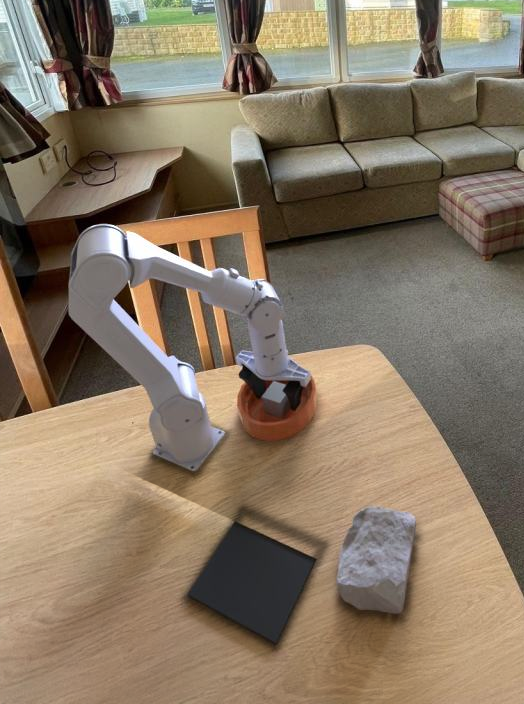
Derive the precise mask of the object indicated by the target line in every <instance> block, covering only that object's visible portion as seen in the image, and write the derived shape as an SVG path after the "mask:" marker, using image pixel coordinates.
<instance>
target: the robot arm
mask: <svg viewBox="0 0 524 704" xmlns="http://www.w3.org/2000/svg"><path fill="white" fill-rule="evenodd" d="M150 279H154V280H157V281H161V282H164V283H167V284H171V285H174V286H178V287H179V288H180V287H181V288H184V289H188V290H191V291H194V292H197V293H200V296H201V299H202V301H203V302H204V303H205V304H207V305H210V306H213V307H216V308H218V309H221V310H224V311H226V312H229V313H231V314H235V315H238V316H241V317H245V318H246V319H247V324H248V326H247V327H248V335H249V340H250V345H251V350H252V351H249V350H248V351H247V350H242V349H241V351H240V352H239V353H238V354H237V355H236V356H235V362H236V365H237V366H239V367H241V370H240V371H239V372H238V378H239V379H240V380H242V381H243V382H244V383H245V382H246V383H247V384H248V386H249V387H250V388H251V390H252V391H253V393H254V394H255V396H256V397H257V398H258V399H260V398H261V397H262V395H263V394H264V393H265V392H266V383H265V380H289V382H288V383H287V385H286V386H285V387H284V389H283V392H284V393H285V394H286V396H287V397H288V400H289V404H290V408H291V410H293V411H296V409H297V408H298V406H299V404H300V402H301V395H302V391H303V388H304V387H306V386H307V384H308V383H309V381H310V380H311V375H312V374H311V371H310V370H308V369H306V368H304V367H303V366H302V365H300V364H299V363H297V362H296V361H295V360H293V359H292V358H291V357H289V356H288V355H289V350H288V349H287V344H286V338H285V331H284V325H283V320H282V319H283V317H284V314H285V307H283V303H282V302H281V300H280V298H279V296H278V294H277V293H276V291H275V289H274V287H273V286H272V284H271V283H270V282H268V281H267V280H266V279H264V278H257V279H253V280H251V279H249V278H247V277H244V276H242V275H240V273H239V271H238V270H237V269H234V268H233V267H231V268H229V270H227V269H225V268H222V267H217V268H215V269H212V270H208V269H206V268H203V267H201V266H199V265H198V264H195V263H193V262H191V261H189V260H187V259H184V258H182V257H180V256H178V255H176V254H174V253H172V252H170V251H167V250H166V249H163V248H161V247H159V246H158V245H156V244H154V243H152V242H150V241H148V240H146V239H145V238H143V237H142V236H140V235H138V234H137V233H135V232H131V231H126V232H124V231H123V230H122V229H121V228H119V227H118V226H115V225H113V224H108V223H99V224H95V225H92V226H90V227H87V228H86V229H84V230H83V231H82V232H81V233H80V234H79V236H78V238H77V240H76V242H75V244H74V246H73V248H72V251H71V255H70V267H69V278H68V316H69V317H70V319H71V320H72V321H73V322H74V323H75V324H76V325H77V326H79V328H81V329H82V330H83V331H84V332H85V333H86V335H88V336H89V337H90V338H91V339H92V340H93V341H94V342H95V343H97V345H98V346H100V347H101V348H102V350H103V351H105V352H106V354H108V355H109V356H110V357H111V358H112V359H113V360H114V361H116V362H117V363H118V364H119V366H121V368H122V369H124V370H125V371H126V372H127V373H128V374H129V375H130V376H131V377H132V378H133V379H134V380H135V381H137V383H139V385H141V386H142V387H143V388H144V390H145V391H146V393H147V395H148V398H149V400H150V403H151V405H152V407H153V408H152V410H151V411H150V413H149V418H148V428H149V430H150V433H151V436H152V439H153V441H154V444H155V447H156V448H155V449H154V450H153V451H152V454H153V455H155V456H157V457H160V458H161V459H164V460H166V461H168V462H171V463H173V464H176V465H178V466H180V467H182V468H185V469H187V470H188V471H191V472H196V471H197V470H198V469H199V468H200V467H201V465H202V464H203V463H204V462H205V460H207V457H209V455H210V454H211V452H213V450H214V449H215V447H216V446H217V445H218V444H219V442H220V441H221V440H222V438H223V437H224V436H225V435H226V432H225V431H224V430H221V429H220V428H217V427H214V426H212V422H211V418H210V414H209V411H208V407H207V403H206V399H205V397H204V395H203V394H202V393H201V392H199V388H198V384H197V380H196V371H195V368H194V367H193V366H192V364H190V363H188V362H184V361H181V360H179V359H178V358H176V356H175V355H170V356H168V355H167V354H166V353H165V352H164V351H163V350H162V349H161V348H160V347H159V345H158V344H157V343H155V341H153V339H152V338H151V337H150V336H149V335H148V334H147V333H146V332H145V331H144V330H143V328H141V327H140V326H139V325H138V323H137V322H136V321H135V320H134V319H133V318H132V317H131V316H130V315H129V314H128V313H127V312H126V310H125V309H124V308H122V307H121V305H120V304H118V302H117V301H116V300H115V298H116V297H117V296H118V295H119V294H120V292H122V290H123V289H124V288H125V287H126V286H127V284H128V282H129V288H130V289H134V288H136V287H138V286H140V285H142V284H144V283H145V282H147V281H149V280H150ZM302 367H303V368H302ZM310 374H311V375H310ZM220 432H221V433H220ZM192 467H193V468H192Z"/></svg>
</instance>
